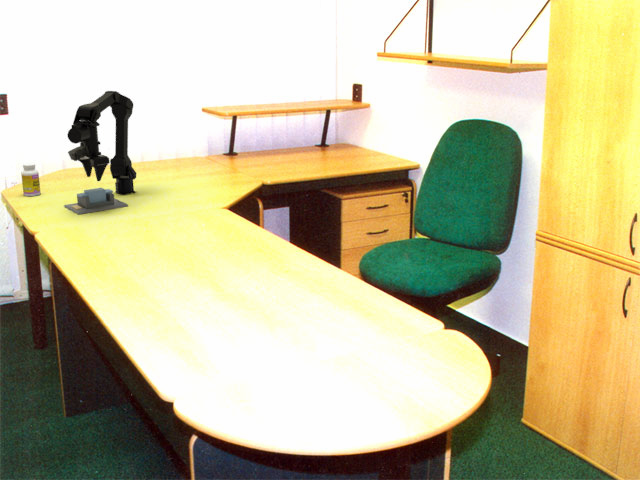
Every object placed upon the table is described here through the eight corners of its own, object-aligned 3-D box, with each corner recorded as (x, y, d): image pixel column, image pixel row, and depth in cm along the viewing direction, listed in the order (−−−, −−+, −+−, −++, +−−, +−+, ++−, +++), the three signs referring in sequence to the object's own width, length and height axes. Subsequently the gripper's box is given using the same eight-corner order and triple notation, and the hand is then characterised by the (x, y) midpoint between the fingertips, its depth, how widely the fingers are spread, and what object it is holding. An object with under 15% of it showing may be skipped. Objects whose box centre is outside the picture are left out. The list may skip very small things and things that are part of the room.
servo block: (109, 201, 285) (108, 186, 284) (113, 203, 283) (112, 188, 281) (77, 206, 277) (76, 191, 276) (82, 208, 275) (80, 193, 273)
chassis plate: (112, 199, 292) (111, 186, 290) (128, 206, 281) (127, 193, 280) (64, 207, 279) (63, 194, 278) (78, 214, 269) (77, 201, 267)
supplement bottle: (34, 197, 293) (31, 166, 289) (20, 196, 294) (16, 165, 291) (44, 193, 299) (40, 163, 296) (29, 192, 301) (26, 162, 297)
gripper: (60, 137, 275) (64, 177, 280) (79, 144, 261) (83, 186, 266) (87, 134, 282) (91, 173, 286) (108, 141, 268) (111, 182, 273)
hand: (93, 178), depth 278 cm, fingers open, 9 cm apart
